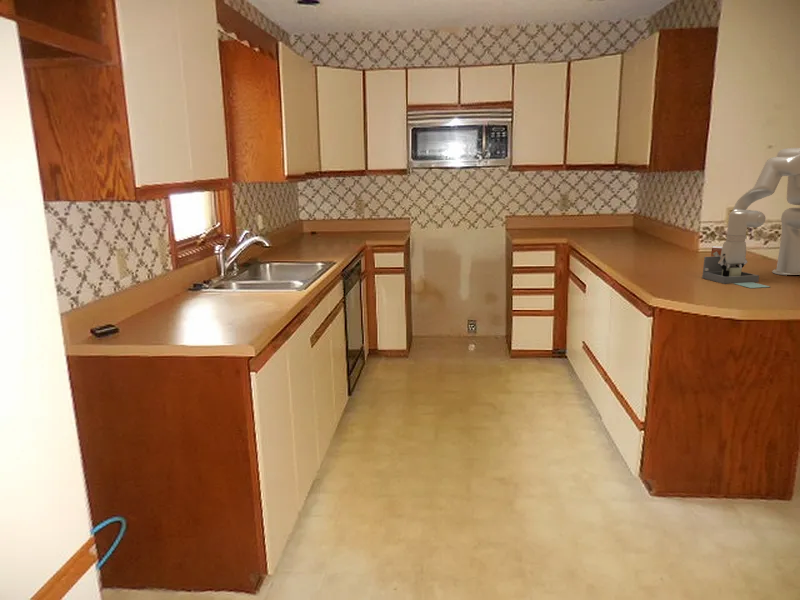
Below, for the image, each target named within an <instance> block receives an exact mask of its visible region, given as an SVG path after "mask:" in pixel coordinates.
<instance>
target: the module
mask: <svg viewBox="0 0 800 600" xmlns="http://www.w3.org/2000/svg"><path fill="white" fill-rule="evenodd" d="M726 267H727V266H726ZM742 270H743V268H738V267H736V266H730V267H729V270H728V271H729V277H730V276H741V271H742ZM742 272H743V271H742ZM722 276H723V270H722Z"/></svg>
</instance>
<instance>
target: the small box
mask: <svg viewBox="0 0 800 600" xmlns="http://www.w3.org/2000/svg"><path fill="white" fill-rule="evenodd" d="M722 247H723V246H721V245H720V246H719V245H718V246H716V245H715V246H714V245H712V247H711V252H710V257H713V256H721V251H722Z"/></svg>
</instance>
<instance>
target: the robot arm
mask: <svg viewBox="0 0 800 600" xmlns="http://www.w3.org/2000/svg"><path fill="white" fill-rule="evenodd" d="M782 177H787V185H786V187H787V188H786V202H787V203H788V204H790V205H793V206H800V147H789V148H788V147H787V148H782V149H780V150H779V151H778V152H777V154H776V156H773V157H770V158H769V159H767V160H766V161H765V164H764V165H763V167H762V170H761V172H760V173H759V176H758V178H757V179H756V182H755V184H754V186H753V187H752V188H750V189H749V190H748V191H746V192H745V193H744V194H742V195H741V196H740V197H739V198H738V199H737V201H736V203H735V204H734V207H733V208H732V211H731V212H730V213H729V214H728V220H727V222H728V223H727V231H726V238H725V241H724V242H723V243H722V244H723V245H722V246H721V247H722V251H721V256H720V261H719V262H718V264H719V265H720V266H721V268H722V270H723V276H724V277H729V271H728V270H729V267H730V264H735V266H736V267H738V268H742V269H743V267H745V266H746V264H748V261H747V259H746V256H747V243H746V239H747V237H748V236H747V228H759V227H762V226H763V225H764V224H765V222H766V215H765V214H764V213H763V212H762V211H759V210H754V209H753V210H751V209H748V207H750V206H751V205H752V204H753V203H755V202H757V201H759V200H761V199H764V198H767V197H769V196H772V195H774V194H775V192H776V190H777V187H778V186H779V184H780V182H781V179H782ZM780 219H781V236H780V242H779V250H778V257H777V263H776V268H775V269H773V270H772V271H771V272H772V273H773V274H775V275H779V276H780V275H781V276H787V275H800V207H790V208H786V209H785V210H784V211H783V212H782V214H781V218H780ZM723 263H724V264H723ZM726 265H727V267H726Z"/></svg>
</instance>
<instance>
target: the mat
mask: <svg viewBox="0 0 800 600" xmlns="http://www.w3.org/2000/svg"><path fill="white" fill-rule="evenodd" d="M732 284H733V285H736V286H739V287H744V288H748V289H766V288H768V289H769V288H771V286H769V285H765V284H761V283H759V282H747V283H732Z"/></svg>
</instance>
